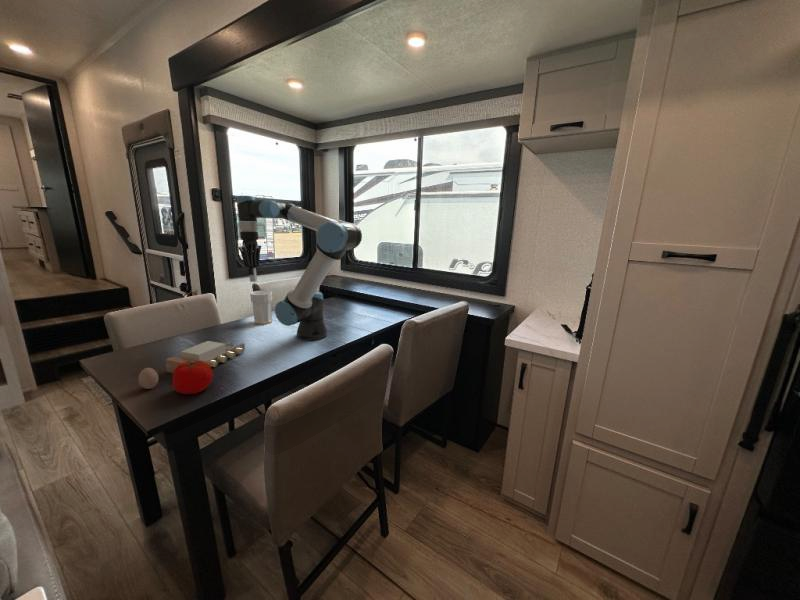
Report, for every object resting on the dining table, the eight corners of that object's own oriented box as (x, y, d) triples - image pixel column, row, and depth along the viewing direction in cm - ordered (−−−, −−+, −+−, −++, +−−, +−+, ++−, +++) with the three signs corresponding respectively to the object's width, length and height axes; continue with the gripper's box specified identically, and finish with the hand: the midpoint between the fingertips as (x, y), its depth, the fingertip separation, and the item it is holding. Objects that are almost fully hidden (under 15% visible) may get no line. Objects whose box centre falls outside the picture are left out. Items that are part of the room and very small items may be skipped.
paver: (226, 352, 130) (225, 343, 129) (200, 364, 119) (198, 354, 118) (209, 349, 132) (207, 340, 131) (182, 361, 121) (180, 351, 120)
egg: (153, 392, 105) (149, 371, 103) (136, 392, 104) (132, 371, 103) (163, 384, 110) (160, 364, 108) (147, 384, 110) (143, 364, 108)
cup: (259, 318, 185) (257, 290, 181) (277, 320, 184) (275, 291, 180) (248, 324, 175) (245, 294, 170) (267, 326, 173) (265, 295, 169)
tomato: (165, 394, 103) (160, 365, 101) (197, 379, 114) (194, 352, 112) (190, 402, 99) (186, 373, 97) (222, 386, 110) (219, 358, 107)
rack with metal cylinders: (250, 351, 140) (249, 340, 139) (195, 378, 115) (194, 365, 114) (225, 346, 144) (224, 336, 143) (167, 371, 119) (165, 359, 117)
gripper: (251, 230, 152) (255, 278, 157) (231, 231, 140) (237, 283, 145) (264, 231, 151) (268, 279, 156) (246, 231, 138) (251, 284, 144)
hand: (253, 281), depth 151 cm, fingers closed
